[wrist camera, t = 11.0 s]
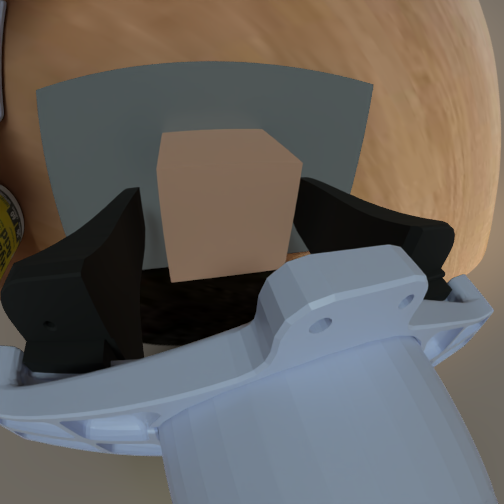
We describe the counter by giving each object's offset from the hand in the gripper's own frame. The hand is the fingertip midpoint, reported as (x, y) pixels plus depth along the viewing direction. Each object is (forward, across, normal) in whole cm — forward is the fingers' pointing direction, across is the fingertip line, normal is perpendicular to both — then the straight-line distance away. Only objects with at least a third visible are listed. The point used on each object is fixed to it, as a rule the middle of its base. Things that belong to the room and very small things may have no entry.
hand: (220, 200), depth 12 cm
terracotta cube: (+3, 0, 0) cm, 3 cm away
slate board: (+4, 0, 0) cm, 4 cm away
